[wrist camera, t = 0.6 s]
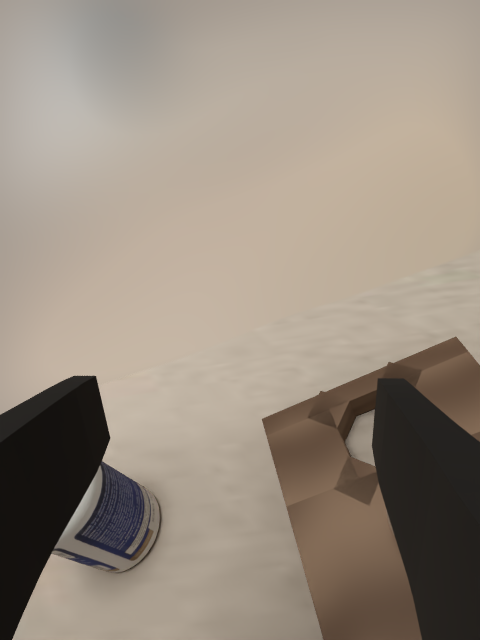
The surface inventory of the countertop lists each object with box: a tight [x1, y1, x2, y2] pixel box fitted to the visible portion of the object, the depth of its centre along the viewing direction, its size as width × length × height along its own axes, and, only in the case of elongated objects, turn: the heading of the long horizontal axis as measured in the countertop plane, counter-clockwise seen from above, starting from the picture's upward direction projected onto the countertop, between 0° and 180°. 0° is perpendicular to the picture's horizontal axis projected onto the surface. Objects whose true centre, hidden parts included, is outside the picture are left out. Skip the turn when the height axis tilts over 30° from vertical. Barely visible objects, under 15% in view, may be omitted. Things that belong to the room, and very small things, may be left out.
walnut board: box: [262, 337, 480, 640], centre depth 20 cm, size 19×13×2 cm
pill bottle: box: [51, 461, 160, 572], centre depth 25 cm, size 5×5×10 cm
